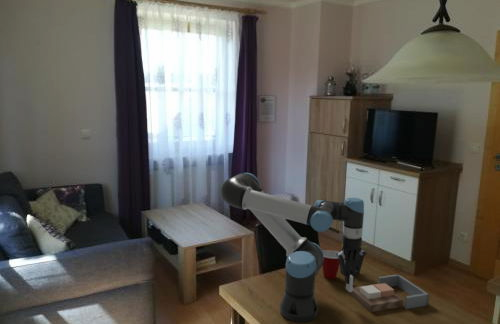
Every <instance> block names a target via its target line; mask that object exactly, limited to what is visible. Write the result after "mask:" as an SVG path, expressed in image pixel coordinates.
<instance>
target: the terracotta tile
mask: <svg viewBox="0 0 500 324" xmlns="http://www.w3.org/2000/svg"><path fill="white" fill-rule="evenodd" d="M375 284H376V285H373V284H372V285H373V286H374V287H376V288H377V289H378V290H380V291H381V297H385V296H391V295H394V293H395V289H394V288H392V287H390V286H388V285H387V284H385V283H383V284H378V283H375Z"/></svg>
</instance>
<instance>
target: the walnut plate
mask: <svg viewBox="0 0 500 324" xmlns="http://www.w3.org/2000/svg"><path fill="white" fill-rule="evenodd" d="M376 284H377V283H375V284H372V285H376ZM379 284H381V283H379ZM369 285H370V284H367V285H365V286H369ZM363 286H364V285H361V286H360V285H359V286H355V287H353V291H352V292H349V295H350V296H351V297H352V298H353V299H354V300H356V301H357V302H358V303H359V304H360V305H362V306H363V307H364V308H365V309H366V310H367V311H368V312H370V313H374V312H379V311H380V312H381V311H386V310H390V309H397V308H403V307H404V302H405V299H403V298H402V297H400V296H399V295H398V294H396V293H395V292H394V295H391V296H385V297H379V298H373V299H368V298H366V297H365V296H364V295H363V294H362V293H360V288H361V287H363Z"/></svg>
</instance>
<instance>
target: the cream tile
mask: <svg viewBox="0 0 500 324" xmlns="http://www.w3.org/2000/svg"><path fill="white" fill-rule="evenodd" d="M368 285H369V286H366V285H362V286H363V287H361V288H360V293H362V294H363V295H364V296H365V297H366V298H368V299H373V298H379V297H381V291H380V290H378V289H377V288H376V287H374V286H373V284H368Z"/></svg>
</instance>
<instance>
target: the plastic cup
mask: <svg viewBox="0 0 500 324" xmlns="http://www.w3.org/2000/svg"><path fill="white" fill-rule="evenodd" d="M322 251H323V254H324V260H323V264H322V266H321V268H322V273H323V278H325V279H327V280H335V279H336V278H337V274H338V271H339V269H340V265H339V259H338V257H337V255H336V254H337V253H340V252H339V251H336V250H322Z"/></svg>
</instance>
